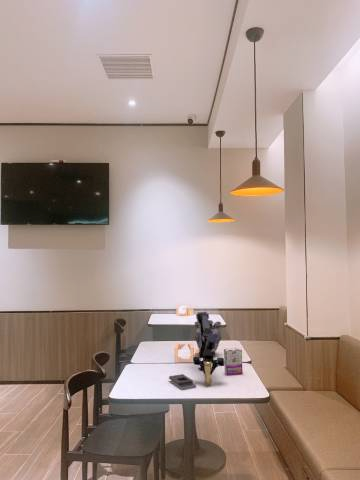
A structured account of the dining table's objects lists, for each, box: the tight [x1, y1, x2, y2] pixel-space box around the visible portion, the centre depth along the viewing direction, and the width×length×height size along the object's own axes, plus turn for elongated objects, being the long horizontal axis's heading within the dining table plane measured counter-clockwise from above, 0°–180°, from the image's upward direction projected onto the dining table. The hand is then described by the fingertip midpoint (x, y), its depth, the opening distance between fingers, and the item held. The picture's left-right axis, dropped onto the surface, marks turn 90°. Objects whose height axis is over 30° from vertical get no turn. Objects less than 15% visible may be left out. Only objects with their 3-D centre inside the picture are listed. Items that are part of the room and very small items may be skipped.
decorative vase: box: [194, 319, 222, 358], centre depth 285 cm, size 21×19×28 cm
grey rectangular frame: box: [168, 374, 197, 391], centre depth 219 cm, size 18×10×3 cm, turn 25°
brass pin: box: [204, 361, 212, 388], centre depth 216 cm, size 5×5×14 cm
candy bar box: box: [223, 347, 243, 377], centre depth 238 cm, size 11×5×16 cm, turn 101°
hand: (207, 374), depth 215 cm, fingers closed on brass pin, 4 cm apart
